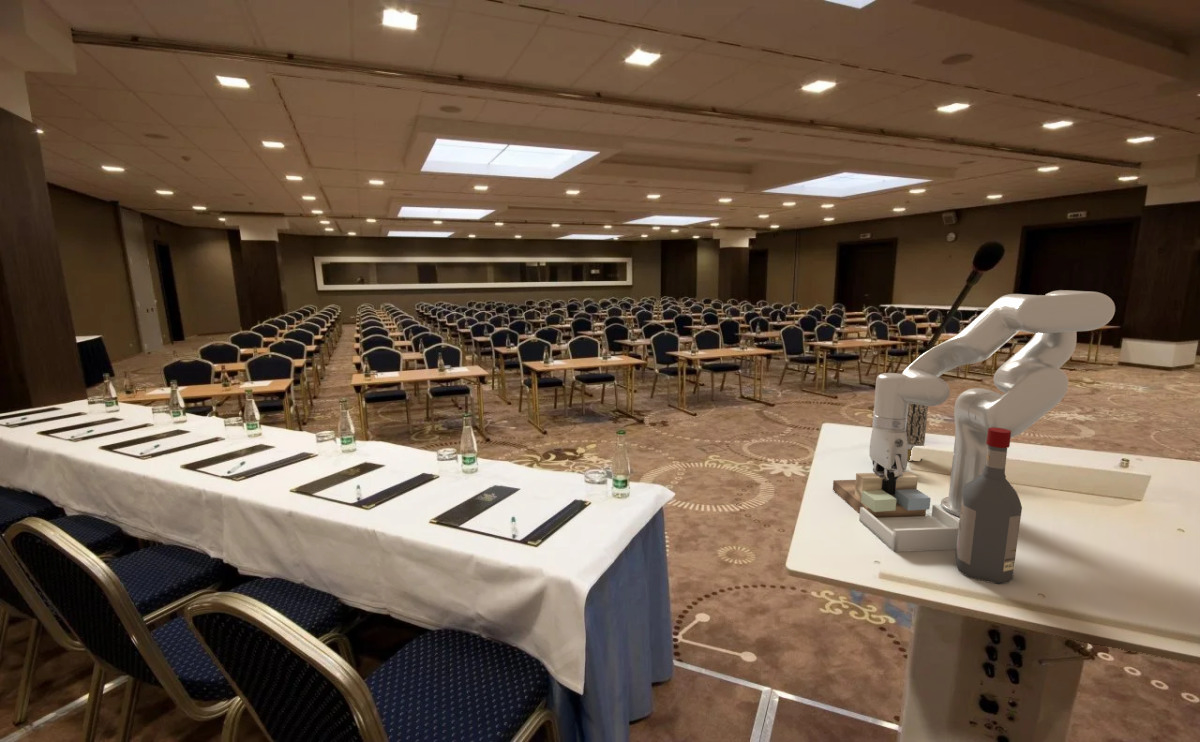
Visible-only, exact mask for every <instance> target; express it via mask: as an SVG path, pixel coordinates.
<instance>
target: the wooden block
mask: <svg viewBox="0 0 1200 742" xmlns="http://www.w3.org/2000/svg"><path fill="white" fill-rule="evenodd" d="M891 472H893V471H889V474H890V473H891ZM883 479H884V471H875V473H874V472H856V474H855V480H856V484H855V496H856V497H858V498H859V499H860V500H861V498H862V491H874V490H882V480H883ZM918 479H919V477H918V476H917V475H915V474H913V473H912V472H910V471H905V472H904V471H903V476H900V477H898V480H897V481H896V488H895V490H903V489H917V490H918ZM891 496H893V497H894V498H895V494H894V495H891Z"/></svg>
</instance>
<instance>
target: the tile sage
mask: <svg viewBox="0 0 1200 742" xmlns="http://www.w3.org/2000/svg"><path fill="white" fill-rule="evenodd" d="M861 503H863V504H864V505H865V506H867V507H868V508H870V509H871V510H872V511H874V512H880V511H895V510H896V498H894V497H893V496H891V495H890V494H888V493H886V492H885V491H883V490H874V491H862V498H861Z"/></svg>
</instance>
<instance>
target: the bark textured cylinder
mask: <svg viewBox="0 0 1200 742" xmlns="http://www.w3.org/2000/svg"><path fill="white" fill-rule="evenodd" d="M928 410H929V406H923V405H917V404H908V414H907V425H906V432H907V441H908V457H907V462H910V461H909V460H910V456H911V450H912V448H913V447H914V446H924V447H925V441H926V432H927V431H926V430H927V421H928V420H927V419H928Z"/></svg>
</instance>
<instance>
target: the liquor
mask: <svg viewBox="0 0 1200 742" xmlns="http://www.w3.org/2000/svg"><path fill="white" fill-rule="evenodd" d="M1011 438H1012V437H1011V431H1010V430H1007V429H1003V428H994V427H992V428H989V429H988V434H987V441H986V444H987V445H988V448H987V456H986V463H985V468H984V470H983V474H981V475H980V476H978V477H976V478H975V479H973V480H972V481H970V482H968V483H967V484H966V485H965V486H964V488H963V493H962V502H961V511H960V517H959V519H958V520H959V529H958V538H957V547H956V550H955V561H956V568H957V570H958V572H960V573H962V574H963V575H965V576H966V577H968V578H970V579H974V580H980V581H983V582H989V583H991V584H996V585H1002V584H1007V583H1010V582H1011V581H1012V580H1013V578H1014V570H1015V563H1016V555H1017V548H1018V547H1017V546H1018V542H1019V541H1018V540H1019V533H1020V526H1021V519H1022V511H1023V507H1022V502H1021V500H1020V498H1019V497H1020V496H1019V495H1018V492H1017V491H1016V490H1015V488H1014V487H1013V486H1012V484H1011V483H1010V482H1009V480H1008V479H1007V476H1006V464H1007V456H1008V448H1009V447H1010V445H1011Z"/></svg>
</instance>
